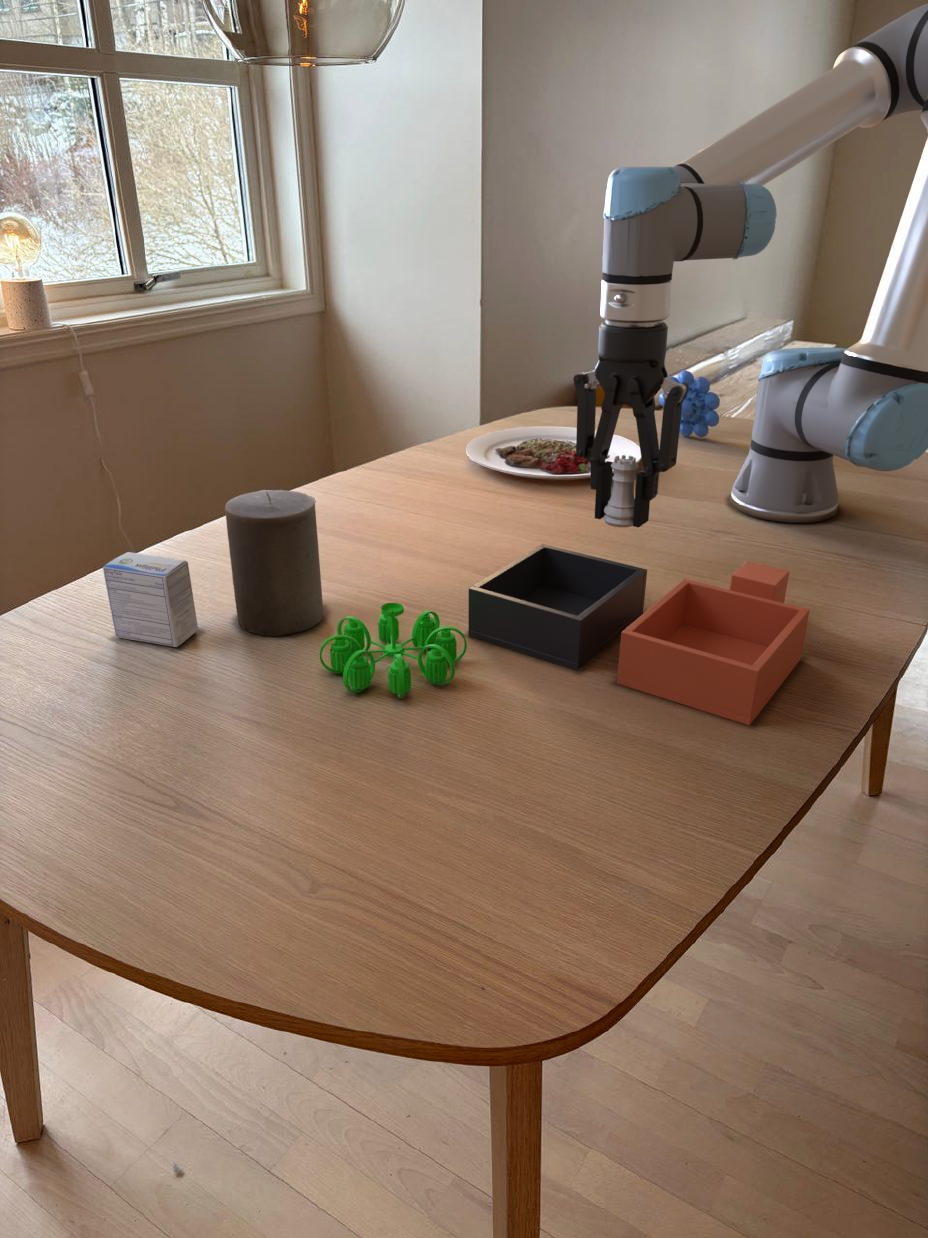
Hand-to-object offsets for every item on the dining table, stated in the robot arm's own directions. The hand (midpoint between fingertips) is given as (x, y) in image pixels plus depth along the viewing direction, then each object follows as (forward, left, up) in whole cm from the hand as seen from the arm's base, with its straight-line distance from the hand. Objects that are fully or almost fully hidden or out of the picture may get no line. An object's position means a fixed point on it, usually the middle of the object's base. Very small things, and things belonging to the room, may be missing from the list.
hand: (621, 519), depth 116 cm
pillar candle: (+32, -26, -8) cm, 42 cm away
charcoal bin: (+16, +1, -8) cm, 18 cm away
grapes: (-65, -18, -8) cm, 68 cm away
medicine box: (+43, -34, -8) cm, 56 cm away
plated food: (-39, -31, -8) cm, 50 cm away
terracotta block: (0, +18, -8) cm, 19 cm away
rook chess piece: (0, 0, 0) cm, 0 cm away
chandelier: (+34, -8, -8) cm, 36 cm away
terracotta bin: (+16, +19, -8) cm, 26 cm away
